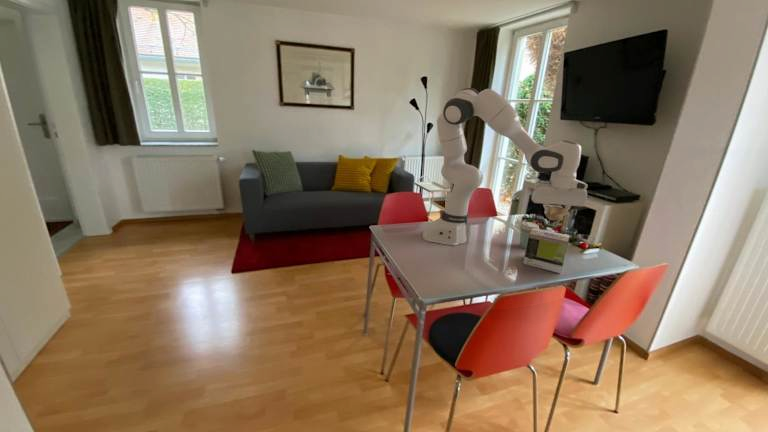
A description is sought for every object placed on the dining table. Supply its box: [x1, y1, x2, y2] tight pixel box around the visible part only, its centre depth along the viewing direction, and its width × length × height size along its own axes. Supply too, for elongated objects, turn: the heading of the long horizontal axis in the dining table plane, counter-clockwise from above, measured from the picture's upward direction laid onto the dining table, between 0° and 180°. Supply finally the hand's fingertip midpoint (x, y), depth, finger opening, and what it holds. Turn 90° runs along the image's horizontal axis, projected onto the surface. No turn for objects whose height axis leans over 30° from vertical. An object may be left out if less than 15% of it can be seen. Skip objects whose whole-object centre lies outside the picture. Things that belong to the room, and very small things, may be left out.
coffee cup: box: [519, 221, 540, 250], centre depth 157 cm, size 9×8×12 cm
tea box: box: [523, 228, 570, 274], centre depth 138 cm, size 15×10×15 cm, turn 58°
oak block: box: [545, 204, 565, 222], centre depth 133 cm, size 5×5×5 cm
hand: (554, 214), depth 133 cm, fingers closed on oak block, 5 cm apart
